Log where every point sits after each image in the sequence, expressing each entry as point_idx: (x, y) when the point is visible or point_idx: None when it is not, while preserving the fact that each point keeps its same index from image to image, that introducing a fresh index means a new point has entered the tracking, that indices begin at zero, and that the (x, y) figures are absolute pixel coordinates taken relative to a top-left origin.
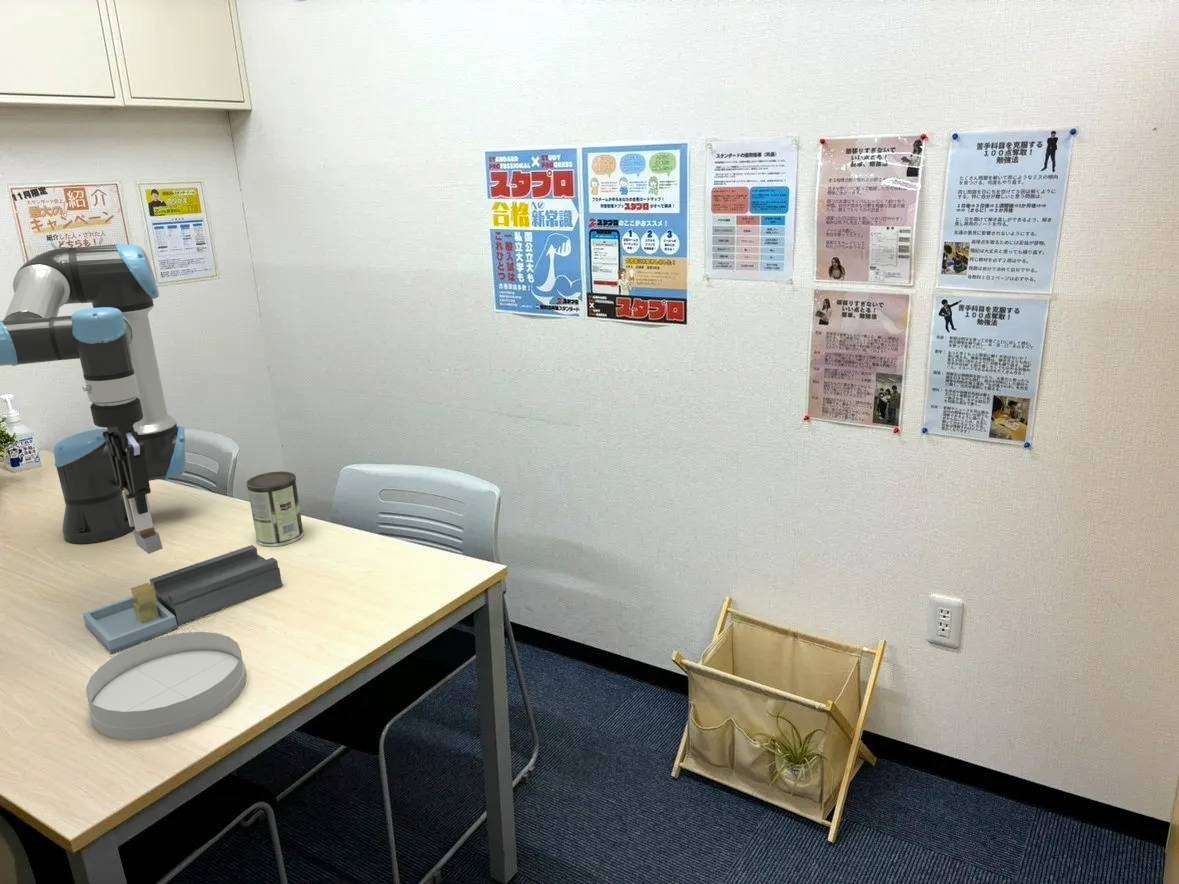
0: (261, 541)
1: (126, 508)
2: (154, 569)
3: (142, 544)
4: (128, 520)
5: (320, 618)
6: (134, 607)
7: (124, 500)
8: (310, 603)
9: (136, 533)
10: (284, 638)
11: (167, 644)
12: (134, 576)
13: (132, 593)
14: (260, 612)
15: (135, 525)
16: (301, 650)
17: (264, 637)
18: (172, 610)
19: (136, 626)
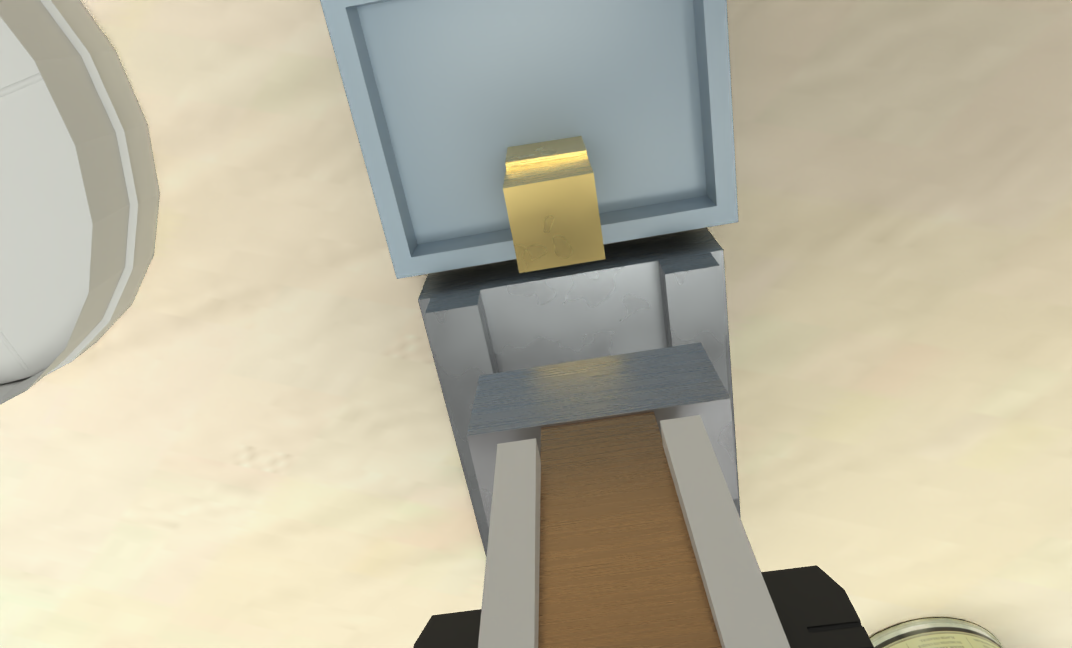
0: (910, 637)
1: (722, 550)
2: (1059, 281)
3: (561, 385)
4: (709, 447)
5: (213, 616)
6: (572, 148)
7: (762, 636)
8: (333, 621)
9: (647, 407)
10: (133, 514)
11: (115, 209)
12: (1066, 196)
13: (576, 169)
14: (362, 503)
15: (511, 477)
16: (29, 531)
17: (171, 472)
18: (460, 280)
19: (494, 123)
